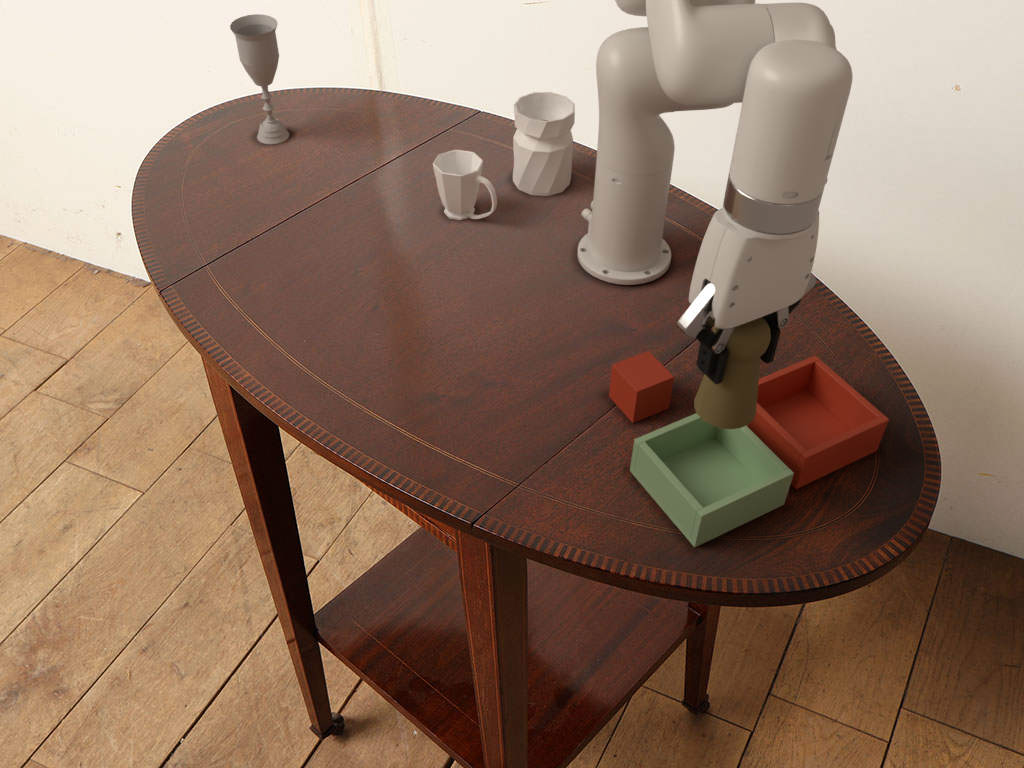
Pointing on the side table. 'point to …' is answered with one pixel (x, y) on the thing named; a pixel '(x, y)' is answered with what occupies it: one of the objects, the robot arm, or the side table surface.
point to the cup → (461, 183)
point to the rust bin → (815, 420)
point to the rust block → (641, 386)
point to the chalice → (261, 66)
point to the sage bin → (709, 476)
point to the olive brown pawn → (735, 379)
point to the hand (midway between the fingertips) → (734, 362)
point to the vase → (543, 143)
